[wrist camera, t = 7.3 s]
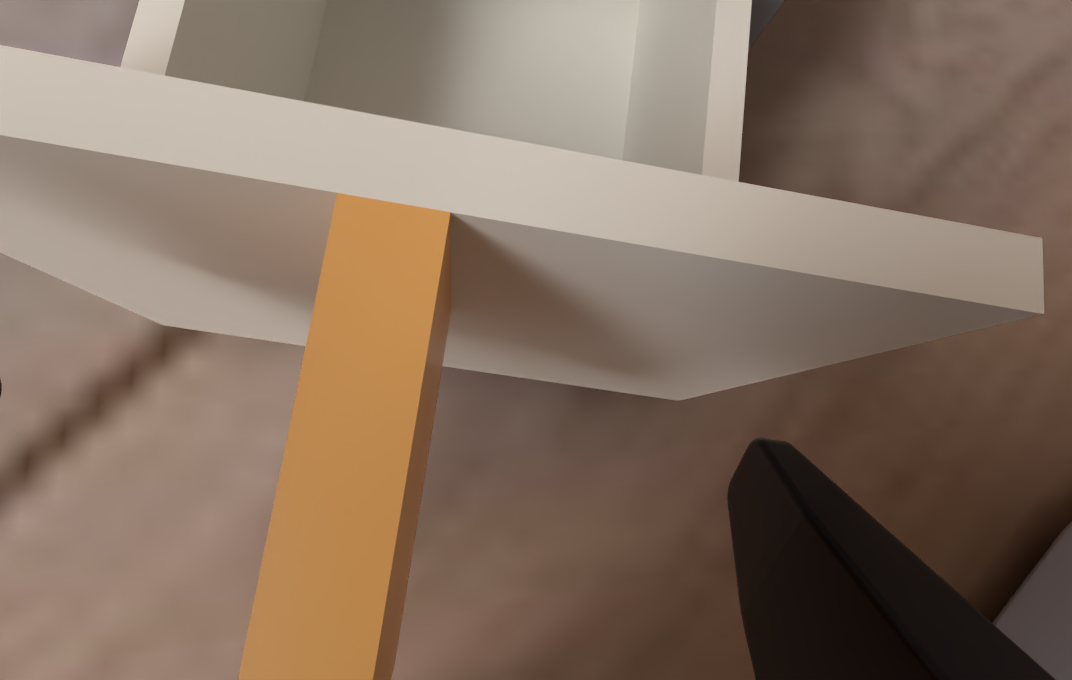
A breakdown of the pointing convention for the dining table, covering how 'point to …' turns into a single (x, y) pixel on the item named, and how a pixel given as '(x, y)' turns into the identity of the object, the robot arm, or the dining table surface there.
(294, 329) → the white drawer unit
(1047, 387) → the dining table surface
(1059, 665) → the bottle
